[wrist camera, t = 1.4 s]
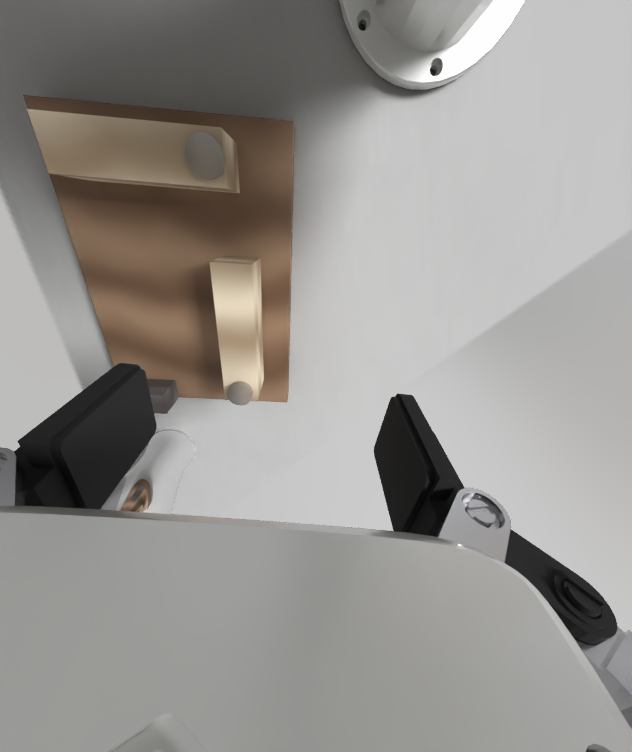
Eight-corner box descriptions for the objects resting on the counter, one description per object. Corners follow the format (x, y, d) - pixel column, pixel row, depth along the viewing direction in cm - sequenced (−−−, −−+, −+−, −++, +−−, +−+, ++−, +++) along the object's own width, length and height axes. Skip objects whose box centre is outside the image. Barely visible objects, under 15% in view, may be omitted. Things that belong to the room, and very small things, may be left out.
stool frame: (48, 105, 20) (-57, 60, 14) (294, 129, 21) (288, 95, 15) (133, 384, 32) (94, 421, 26) (288, 392, 33) (283, 429, 27)
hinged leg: (263, 380, 29) (256, 405, 25) (235, 378, 29) (223, 404, 25) (260, 257, 23) (250, 265, 19) (224, 255, 23) (206, 262, 19)
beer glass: (135, 440, 36) (36, 564, 23) (174, 418, 34) (91, 539, 21) (174, 471, 39) (105, 597, 26) (211, 453, 37) (158, 577, 24)
